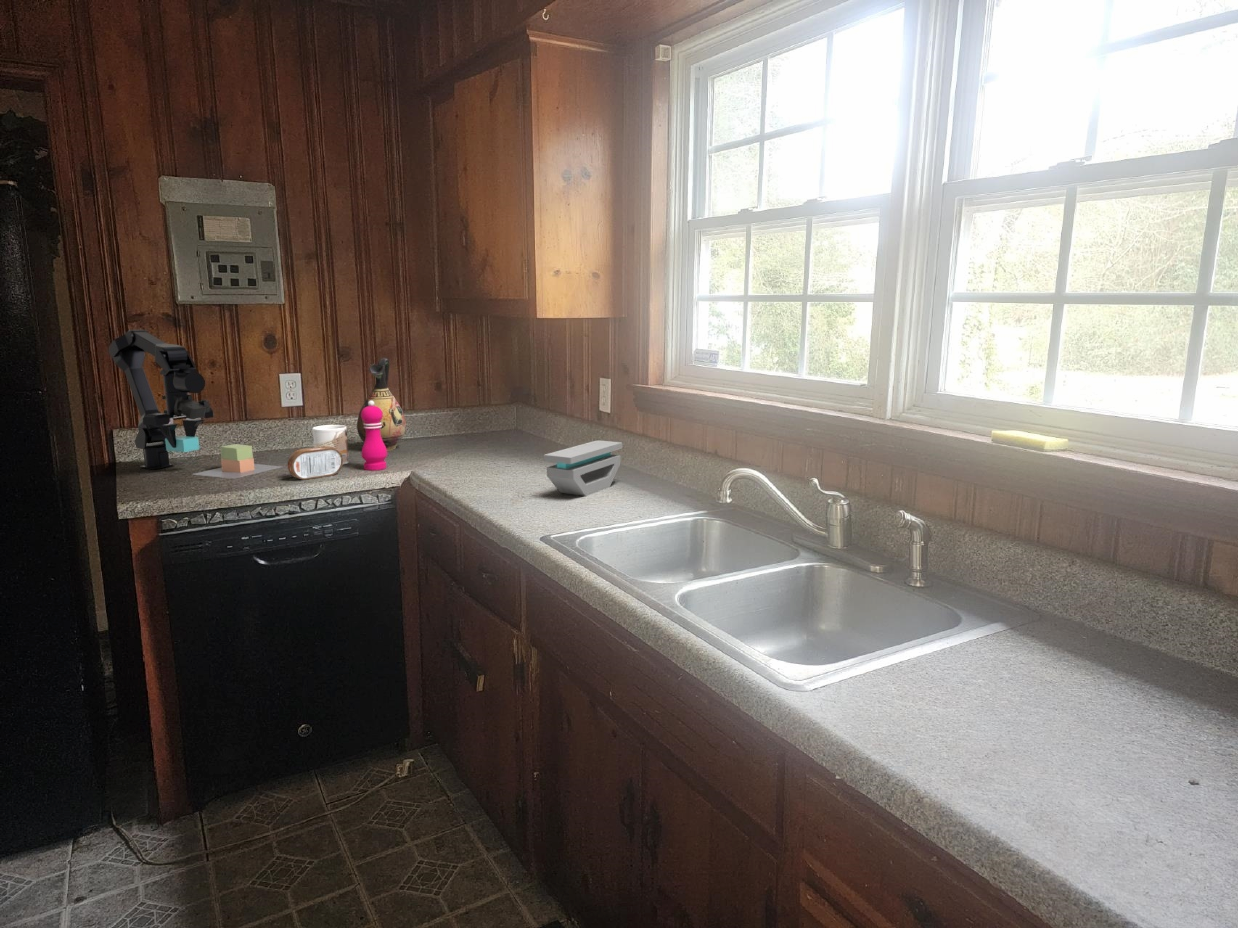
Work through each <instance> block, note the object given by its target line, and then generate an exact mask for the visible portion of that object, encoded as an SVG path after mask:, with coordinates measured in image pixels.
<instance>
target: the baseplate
mask: <svg viewBox="0 0 1238 928" xmlns="http://www.w3.org/2000/svg"><path fill="white" fill-rule="evenodd" d="M280 468H283V465H280V466H279V465H269V464H258V463H254V469H255V470H251V471H247V472H242V473H236V472H226V471H222V467H218V468H217V467H216V468H213V469H209V470H205V471H200V472H196V473H195V472H194V473H191V475H194V476H204V477H212V478H221V479H222V478H223V479H231V480H232V479H233V480H235V479H239V478H242V477H247V476H251V475H255V474H256V475H257V474H259V473H263V472H268V471H272V470H277V469H280Z"/></svg>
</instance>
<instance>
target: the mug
mask: <svg viewBox="0 0 1238 928" xmlns="http://www.w3.org/2000/svg"><path fill="white" fill-rule="evenodd" d="M347 427H348V426H347V425H343V424H326V425H325V424H324V425H317V426H313V427H312V429H311V430H312V431H311V432H312V442H313V445H312V446H313V448H315V447H324V446H330V447H333V448H335V449H337V450H338V451H339V452H340V453H341V454H342V457H343V465H346V464H349V463H350V457H349V440H348V428H347Z"/></svg>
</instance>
